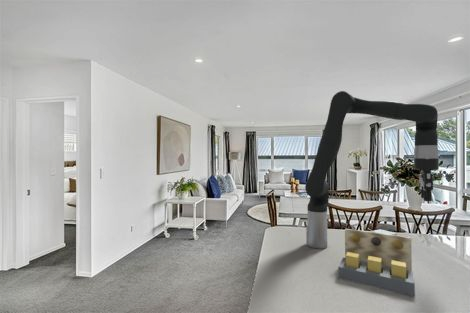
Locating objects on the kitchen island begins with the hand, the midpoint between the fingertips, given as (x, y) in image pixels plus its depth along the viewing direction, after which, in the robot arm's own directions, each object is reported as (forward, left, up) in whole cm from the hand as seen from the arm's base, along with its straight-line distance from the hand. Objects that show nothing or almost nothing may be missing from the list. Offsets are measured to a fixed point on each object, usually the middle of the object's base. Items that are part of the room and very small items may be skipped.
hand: (426, 199), depth 94 cm
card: (-16, -9, -27) cm, 33 cm away
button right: (-9, -20, -24) cm, 33 cm away
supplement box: (-14, -1, -27) cm, 31 cm away
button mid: (-16, -20, -24) cm, 36 cm away
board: (-16, -20, -27) cm, 37 cm away
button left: (-23, -20, -24) cm, 39 cm away
